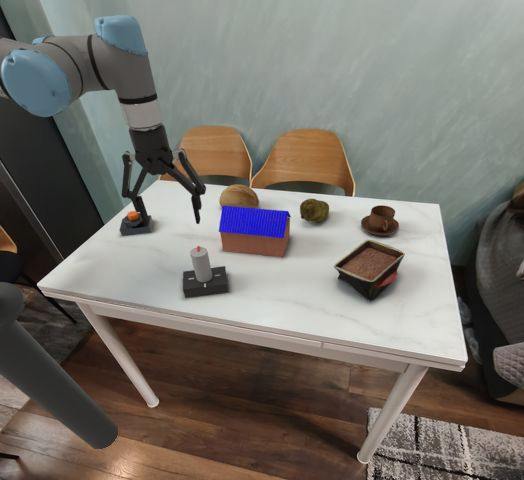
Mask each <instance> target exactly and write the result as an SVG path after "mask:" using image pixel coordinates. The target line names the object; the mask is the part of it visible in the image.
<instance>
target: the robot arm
mask: <svg viewBox="0 0 524 480" xmlns="http://www.w3.org/2000/svg"><path fill="white" fill-rule="evenodd" d="M93 24H94V29H95V33H93V34H86V35H85V34H83V35H52V34H51V35H46V36H43V37H36V38H34V39H33V40H32V43H31V44H29V43H26V42H23V41H22V42H21V41H18V40H14V39H11V38H7V37H3V36H0V98H2V99H6V100H11V101H13V102H14V101H15V103H16V104H18V105H19V106H20V107H22V109H24V110H26V111H27V112H29V113H30V114H32V115H34V116H36V117H41V118H48V117H52V116H55V115H58V114H61V113H63V112H64V111H65V110H66V109H67V108H68V107H70V106H71V105H72V104H73V103H74V102H75V101H77V100H79V99H80V98H81V97H82V96H84V95H85V94H87V93H89V92H101V91H115V93H116V95H117V99H118V102H119V106H120V109H121V112H122V116H123V118H124V121H125V125H126V126H127V127H128V135H129V137H130V140H131V143H132V146H133V149H134V153H133V152H132V153H131V152H130V151H129V150H126V151H124V152H123V154H122V155H121V159H122V163H123V173H122V184H121V186H122V187H121V197H122V199H129V200H131V202H132V205H133V207H134V211H136V212H138V213H140V215H141V218H142V220H143V223H144V226H148V223H149V221H150V220H149V217H148V212H147V208H146V205H145V203H144V199H143V197H142V195H139V192H140V190H141V188H142V186H143V183H144V182H145V179H146V177H147V175H148V174H149V175H151V176H157V175H159V176H166V174H168V176H170V177H171V178H173V179H174V180H175V181H177V182H178V184H180V186H182V187H183V188H184V189H185V190H186V191H187V192H188V193H189V194H190V195H191V197H190V201H191V205H192V206H191V207H192V211H193V215H194V219H195V220H194V221H195V224H196V225H199V224H200V223H201V215H200V214H201V213H200V211H201V210H202V206H203V204H202V200H201V196H205V194H206V192H207V186H206V185H205V183H204V182H203V180H202V178H201V177H200V176H199V174H198V172H197V171H196V169H195V168H194V166H193V165H192V163H191V162H190V161H189V159H188V155H187V153H186V150H185V148H183V147H181V148H179V150H176V151H173V150H172V149H171V147H170V143H169V140H168V139H169V138H168V134H167V131H166V127H165V124H163V122H164V117H163V114H162V109H161V105H160V101H159V97H158V93H157V89H156V85H155V81H154V76H153V71H152V66H151V62H150V58H149V51H148V49H147V47H146V43H145V39H144V37H143V32H142V29H141V25H140V22H139V21H138V19H137V18H136V17H134V15H130V14H118V15H107V16H99V17H96V18H95V19H94V23H93ZM174 159H175V160H176V161H177V162H178V163H180V165H181V167H182V169H183V170H184V172H185V173H186V174H187V176H188V177H187V176H186V175H185V174H184V173H182V172H181V171H180V169H178V166H176V164H174V162H173V161H174ZM135 162H136V163H137V164H138V165H139V166H140V167H141V170H140V171H139V172H140V173H139V174H138V177H137V180H136V182H135V184H134V186H133V189H132V190H131V189H130V188H131V181H132V172H133V165H134V163H135Z"/></svg>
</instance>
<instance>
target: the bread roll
mask: <svg viewBox="0 0 524 480" xmlns="http://www.w3.org/2000/svg"><path fill="white" fill-rule="evenodd" d="M218 202H219V206H220V208H222V206H233V207H245V208H258V207H259V206H260V200H259V196H258V194H257V193H256V191H254V189H252V188H251V187H249V186H247V185H245V184H235V183H234V184H231V185H229V186H227V187H226V188H225V189H224V188H223V190H222V191H221V193H220V196H219V200H218Z"/></svg>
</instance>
